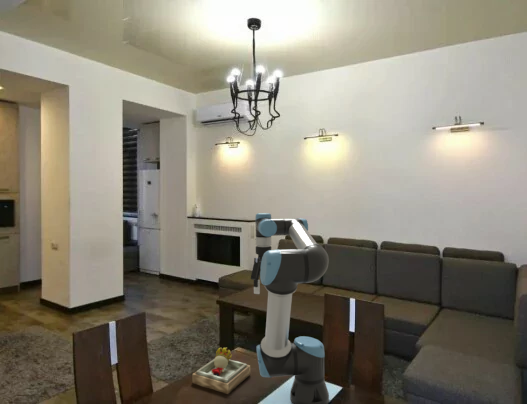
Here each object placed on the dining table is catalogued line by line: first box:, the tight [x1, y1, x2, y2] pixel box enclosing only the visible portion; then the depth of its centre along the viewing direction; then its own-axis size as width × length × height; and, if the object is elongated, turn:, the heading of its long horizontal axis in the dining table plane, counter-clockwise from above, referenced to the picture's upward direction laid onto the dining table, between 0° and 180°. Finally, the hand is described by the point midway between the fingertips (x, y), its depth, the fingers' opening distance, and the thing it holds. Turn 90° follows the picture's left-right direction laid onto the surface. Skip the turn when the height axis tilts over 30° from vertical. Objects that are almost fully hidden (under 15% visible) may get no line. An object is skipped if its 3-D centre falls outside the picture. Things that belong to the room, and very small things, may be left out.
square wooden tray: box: [192, 358, 251, 395], centre depth 157 cm, size 18×18×5 cm
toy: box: [211, 347, 233, 376], centre depth 160 cm, size 7×7×15 cm
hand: (263, 290), depth 171 cm, fingers open, 13 cm apart
